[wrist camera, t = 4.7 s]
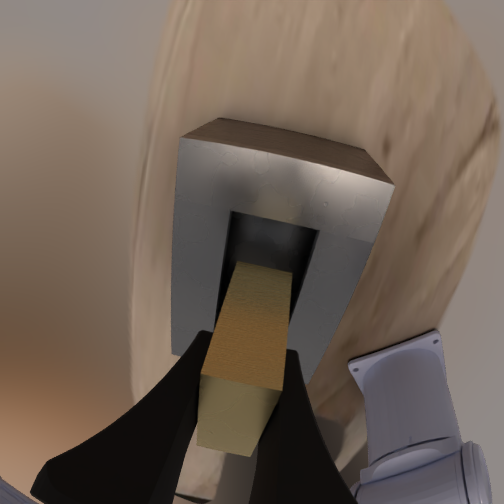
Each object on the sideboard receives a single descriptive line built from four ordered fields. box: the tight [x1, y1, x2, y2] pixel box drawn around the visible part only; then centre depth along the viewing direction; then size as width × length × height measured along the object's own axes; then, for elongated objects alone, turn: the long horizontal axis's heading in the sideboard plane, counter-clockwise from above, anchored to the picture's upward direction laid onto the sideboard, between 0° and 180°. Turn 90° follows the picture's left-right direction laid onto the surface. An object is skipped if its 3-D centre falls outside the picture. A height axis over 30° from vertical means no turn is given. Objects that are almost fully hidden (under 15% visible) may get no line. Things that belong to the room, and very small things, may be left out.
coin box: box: [171, 118, 395, 384], centre depth 16 cm, size 12×8×6 cm, turn 171°
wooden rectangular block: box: [197, 261, 292, 457], centre depth 10 cm, size 5×2×5 cm, turn 171°
